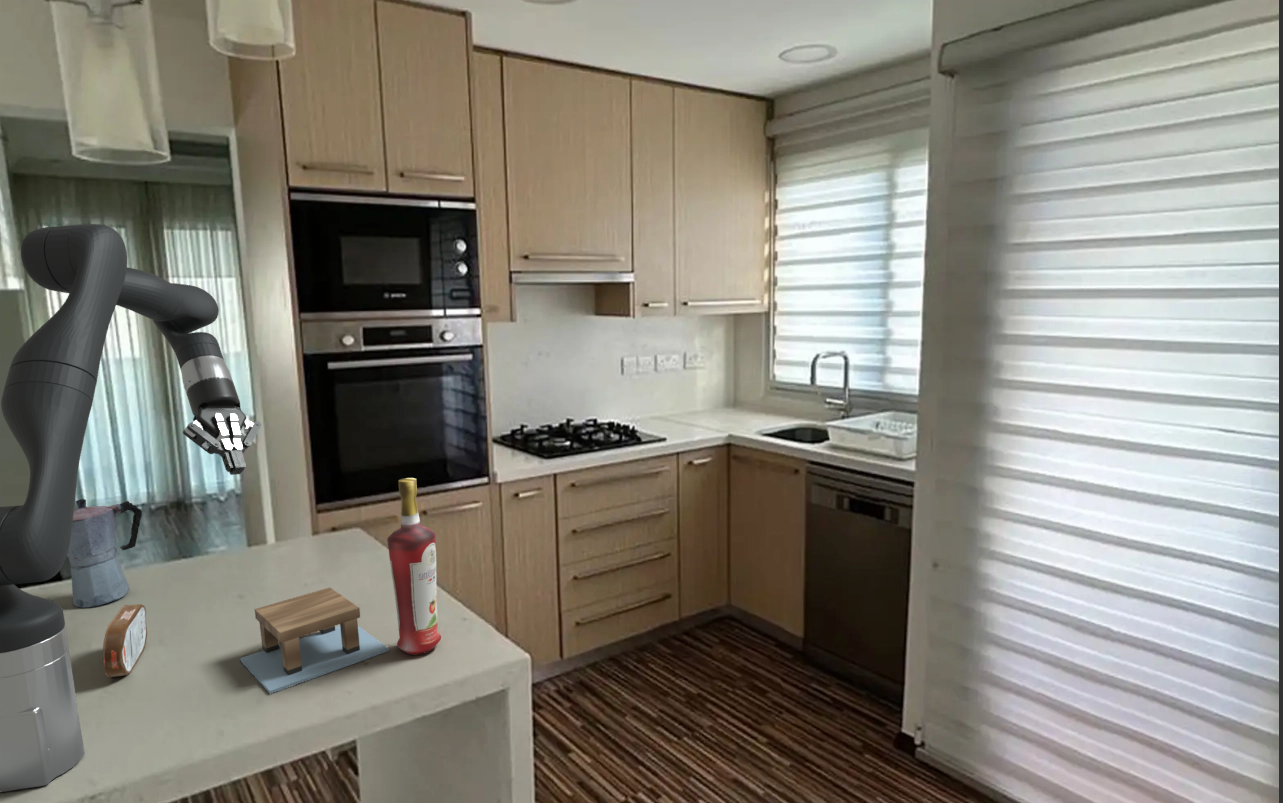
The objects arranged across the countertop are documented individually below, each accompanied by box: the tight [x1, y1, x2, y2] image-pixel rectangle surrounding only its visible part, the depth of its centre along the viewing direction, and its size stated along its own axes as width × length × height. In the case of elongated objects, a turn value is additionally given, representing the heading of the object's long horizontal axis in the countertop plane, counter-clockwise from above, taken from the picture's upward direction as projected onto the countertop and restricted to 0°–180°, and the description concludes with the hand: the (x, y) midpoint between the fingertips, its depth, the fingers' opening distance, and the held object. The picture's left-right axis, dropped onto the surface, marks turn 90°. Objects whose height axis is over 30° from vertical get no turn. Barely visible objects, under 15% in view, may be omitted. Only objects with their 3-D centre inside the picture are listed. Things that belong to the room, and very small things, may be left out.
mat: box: [240, 625, 389, 694], centre depth 120 cm, size 14×18×1 cm
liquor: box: [386, 477, 442, 656], centre depth 120 cm, size 7×7×28 cm
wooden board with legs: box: [254, 587, 361, 675], centre depth 121 cm, size 7×12×12 cm
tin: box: [102, 603, 148, 679], centre depth 119 cm, size 15×3×8 cm, turn 21°
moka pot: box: [66, 498, 143, 609], centre depth 144 cm, size 10×15×20 cm, turn 132°
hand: (237, 472), depth 128 cm, fingers closed
